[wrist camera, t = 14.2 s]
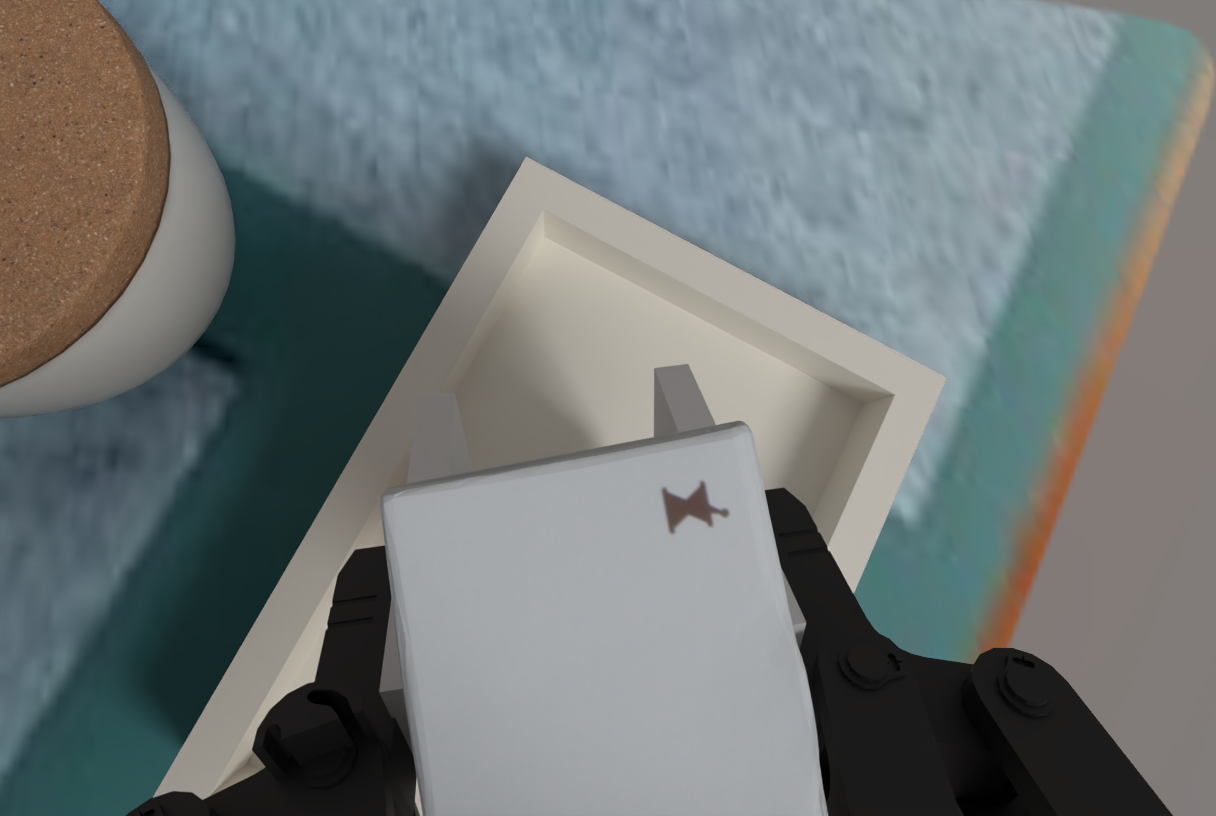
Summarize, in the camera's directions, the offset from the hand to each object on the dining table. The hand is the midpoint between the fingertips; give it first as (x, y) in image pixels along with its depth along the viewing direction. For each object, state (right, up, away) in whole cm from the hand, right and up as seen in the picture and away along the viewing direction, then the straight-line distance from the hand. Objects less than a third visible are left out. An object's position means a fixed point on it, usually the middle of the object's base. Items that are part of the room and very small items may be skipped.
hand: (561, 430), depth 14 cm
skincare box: (0, -4, +4) cm, 6 cm away
